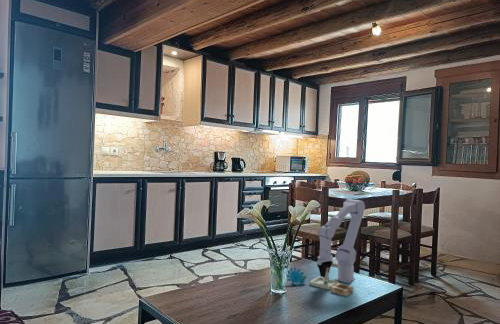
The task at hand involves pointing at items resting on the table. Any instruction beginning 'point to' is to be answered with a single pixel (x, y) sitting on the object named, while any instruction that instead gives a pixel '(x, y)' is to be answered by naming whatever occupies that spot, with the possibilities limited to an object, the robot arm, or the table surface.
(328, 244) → the robot arm
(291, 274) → the blue spiky virus model
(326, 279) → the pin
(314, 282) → the tray
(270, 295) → the table surface
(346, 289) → the socket block
